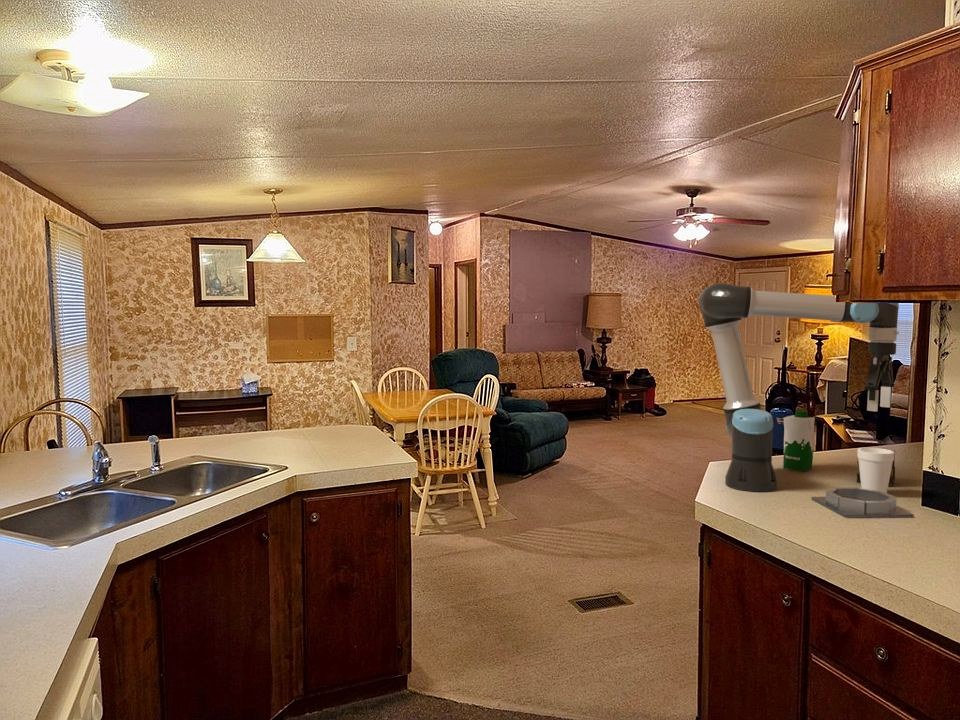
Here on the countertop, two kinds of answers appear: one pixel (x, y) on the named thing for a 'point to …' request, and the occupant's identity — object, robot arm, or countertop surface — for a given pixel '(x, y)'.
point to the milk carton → (798, 441)
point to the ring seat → (861, 503)
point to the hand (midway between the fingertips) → (878, 409)
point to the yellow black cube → (892, 475)
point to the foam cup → (875, 468)
